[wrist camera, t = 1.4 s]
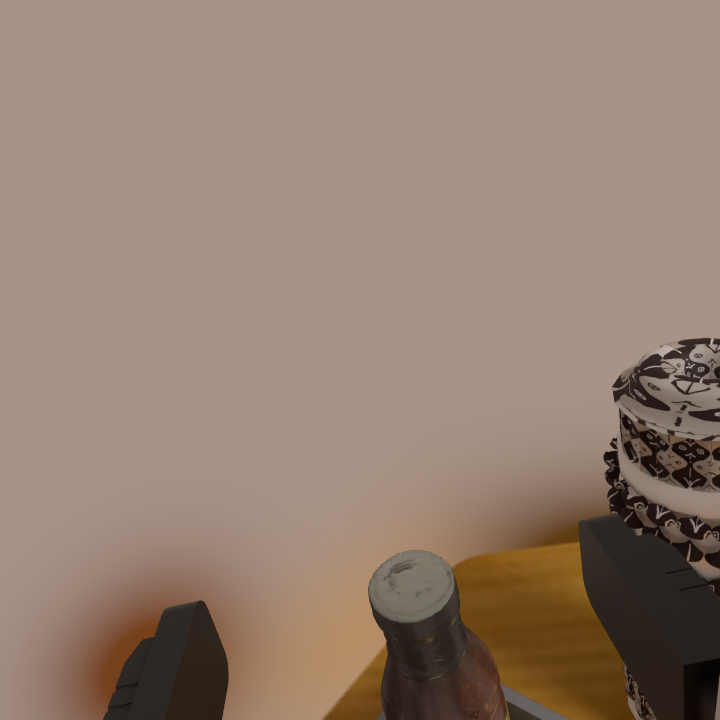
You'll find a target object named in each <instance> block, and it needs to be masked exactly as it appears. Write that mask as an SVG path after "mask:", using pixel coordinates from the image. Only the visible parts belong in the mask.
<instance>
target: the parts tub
mask: <svg viewBox="0 0 720 720" xmlns="http://www.w3.org/2000/svg"><path fill="white" fill-rule="evenodd" d="M500 684H501V683H500ZM501 687H502V689H503V692H504V695H505V700H506V704H507V709H508V714H509V719H510V720H570V719H568V718H566V717H564V716H562V715H560V714H558V713H556V712H554V711H552V710H550V709H549V708H547V707H545V706H543V705H541V704H539V703H537V702H535V701H533V700H531V699H530V698H528V697H526V696H524V695H522V694H520V693H518V692H516V691H514V690H512V689H510V688H509V687H507V686H505V685H503V684H501ZM376 720H386V717H385V714H384V711H383V710H382V711H381V713H380V714H379V716H378V717H377V718H376Z"/></svg>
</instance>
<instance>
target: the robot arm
mask: <svg viewBox="0 0 720 720" xmlns="http://www.w3.org/2000/svg"><path fill="white" fill-rule="evenodd" d="M579 537H580V549H581V560H582V571H583V580H584V585H585V588H586V592H587V595H588V598H589V600H590V603H591V605H592V607H593V609H594V611H595V613H596V614H597V616H598V618H599V620H600V621H601V623H602V625H603V627H604V628H605V630H606V632H607V634H608V635H609V637H610V639H611V640H612V642H613V644H614V646H615V647H616V649H617V651H618V653H619V654H620V656H621V658H622V660H623V661H624V663H625V665H626V667H627V668H628V670H629V672H630V673H631V675H632V677H633V679H634V680H635V682H636V684H637V686H638V687H639V689H640V691H641V693H642V694H643V696H644V698H645V699H646V701H647V703H648V705H649V706H650V708H651V710H652V712H653V713H654V715H655V717H656V719H657V720H720V598H719V597H718V596H717V595H716V594H715V592H714V591H713V590H712V589H711V588H708V586H707V583H706V582H705V581H704V580H703V579H702V577H701V576H700V575H699V574H698V573H697V572H696V571H695V572H694V570H693V567H692V566H691V565H690V564H689V562H688V561H687V560H686V559H685V558H684V557H683V555H682V554H681V553H680V552H679V551H678V550H677V549H676V548H675V547H674V546H672V545H670V544H669V543H667V542H665V541H664V540H662V539H660V538H659V537H657V536H655V535H654V534H652V533H648V534H643V535H639V536H636V535H635V534H634V533H633V532H632V530H631V529H630V528H629V526H628V525H627V524H626V523H625V521H624V520H623V519H622V518H621V517H620V516H619V515H618V514H616V513H614V514H610V515H605V516H601V517H595V518H591V519H586V520H581V521H580V523H579ZM227 687H228V662H227V658H226V654H225V650H224V648H223V645H222V643H221V640H220V639H219V635H218V633H217V631H216V628H215V625H214V623H213V621H212V618H211V615H210V613H209V610H208V608H207V606H206V604H205V603H204V602H203V601H196V602H191V603H186V604H182V605H177V606H172V607H168V608H166V609H165V610H164V612H163V614H162V616H161V619H160V622H159V625H158V628H157V631H156V634H155V637H152V638H147V639H143V640H142V641H141V642H140V644H139V645H138V646H137V648H136V649H135V651H133V653H132V654H131V656H130V657H129V658H128V659H127V661H126V662H125V664H124V666H123V669H122V672H121V674H120V677H119V679H118V682H117V685H116V692H114V693H113V695H112V698H111V700H110V703H109V706H108V713H106V714H105V716H104V719H103V720H222V716H223V710H224V704H225V699H226V693H227Z"/></svg>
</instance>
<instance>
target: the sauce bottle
mask: <svg viewBox="0 0 720 720" xmlns="http://www.w3.org/2000/svg"><path fill="white" fill-rule="evenodd" d="M368 593H369V601H370V604H371V608H372V612H373V616H374V618H375V620H376V622H377V624H378V626H379V627H380V628H381V630H383V632H384V636H385V638H386V641H387V643H386V644H387V652H388V656H387V661H386V666H385V670H384V675H383V680H382V686H381V702H382V707H383V711H384V714H385V717H386V720H510V719H509V714H508V709H507V704H506V700H505V695H504V692H503V689H502V687H501V684H500V677H499V674H498V671H497V667H496V665H495V663H494V660H493V657H492V655H491V653H490V651H489V650H488V649H487V647H486V646H485V644H484V643H483V642H482V641H481V640H480V639H479V638H478V637H477V636H476V635H475V634H474V633H473V632H472V631H471V630H470V629H469V628H467V627H466V626H465V625H464V624H463V622H462V621H461V617H460V612H459V609H460V600H459V592H458V587H457V582H456V579H455V575H454V572H453V570H452V568H451V567H450V565H449V564H448V563H447V562H446V561H445V560H443V559H442V558H441V557H439V556H437V555H436V554H434V553H432V552H428V551H420V550H412V551H407V552H402V553H399V554H396V555H395V556H393V557H391V558H390V559H388V560H387V561H385V562H384V563H383V564H382V565H381V566H380V567H379V568H378V569H377V570H376V571H375V572H374V574H373V576H372V578H371V580H370V582H369V587H368Z"/></svg>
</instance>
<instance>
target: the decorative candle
mask: <svg viewBox="0 0 720 720" xmlns="http://www.w3.org/2000/svg"><path fill="white" fill-rule="evenodd" d="M612 389H613V395H614V402H615V404H616V405H617V406H618V407H619V417H620V432H619V433H618V435H617V438H616V439H615V438H613V439H612V441H611V443H610V445H611V447H613V448H614V449H617V451H611V452H605V454H604V461H605V463H606V464H607V465H608V466H609V467H611V468H609V469H608V470H607V471H606V472H605V478H606V481H607V482H608V483H609V485H611V486H613V487H612V488H611V489H610V490H609V492H608V495H607V498H608V501H609V502H610V511H611V513H612V514H614V513H616V514H618V515H619V516H620V517H621V518H622V519H623V520H624V521H625V523H626V524H627V525H628V526H629V528H630V529H631V530H632V532H633V533H634V534H635V535H636V536H639V535H643V534H648V533H652V534H654V535H655V536H657V537H659V538H660V539H662V540H664V541H665V542H667V543H669V544H670V545H672V546H674V547H675V548H676V549H677V550H678V551H679V552H680V553H681V554H682V555H683V557H684V558H685V559H686V560H687V561H688V562H689V564H690V565H691V566H692V567H693V570H694V572H695V571H696V572H697V573H698V574H699V575H700V576H701V577H702V579H703V580H704V581H705V582H706V583H707V586H708V588H711V589H712V590H713V591H714V592H715V594H716V595H717V596H718V597H719V598H720V339H713V338H700V339H688V340H680V341H677V342H673V343H669V344H665V345H662V346H660V347H658V348H656V349H655V350H653V351H651V352H649V353H647V354H646V355H644V356H643V357H642V358H641V360H640V361H639V363H637V364H636V365H634V366H632V367H630V368H629V369H627V370H625V371H623V372H622V373H621V375H620V376H619V378H618V379H617V381H616V382H615V383H614V385H613V386H612ZM620 473H621V475H622V476H623V478H624V480H621V481H619V474H620ZM623 670H624V675H625V678H626V683H625V690H626V693H627V697H628V706H629V708H630V710H631V712H632V714H633V716H634V717H635V719H636V720H657V719H656V717H655V715H654V713H653V712H652V710H651V708H650V706H649V705H648V703H647V701H646V699H645V698H644V696H643V694H642V693H641V691H640V689H639V687H638V686H637V684H636V682H635V680H634V679H633V677H632V675H631V673H630V672H629V670H628V668H627V667H626V665H625V663H624V664H623Z"/></svg>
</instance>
